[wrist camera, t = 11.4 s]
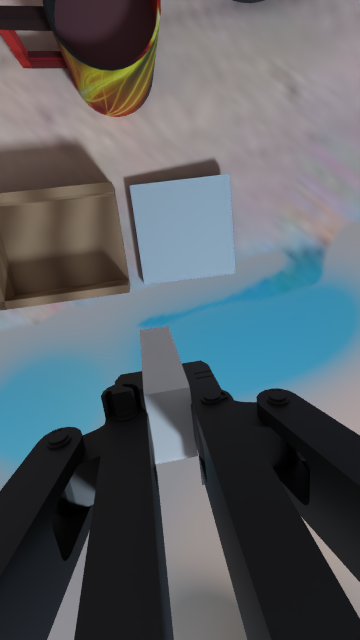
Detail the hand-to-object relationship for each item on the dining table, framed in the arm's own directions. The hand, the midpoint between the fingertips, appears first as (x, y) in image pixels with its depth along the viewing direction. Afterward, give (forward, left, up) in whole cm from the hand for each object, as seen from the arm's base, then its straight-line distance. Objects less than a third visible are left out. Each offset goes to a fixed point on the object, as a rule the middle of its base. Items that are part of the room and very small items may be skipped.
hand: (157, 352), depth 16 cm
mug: (-10, -22, -30) cm, 38 cm away
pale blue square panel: (-8, -1, -29) cm, 30 cm away
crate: (+6, -10, -30) cm, 32 cm away
